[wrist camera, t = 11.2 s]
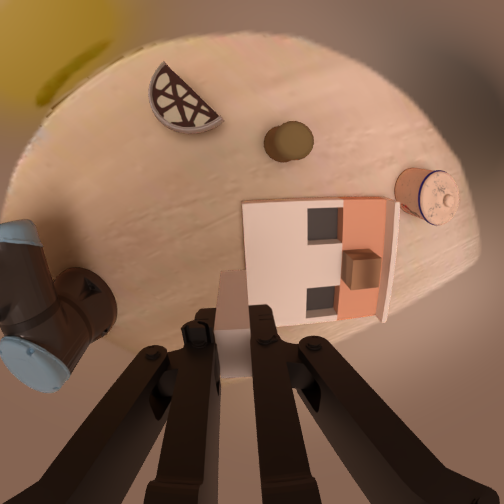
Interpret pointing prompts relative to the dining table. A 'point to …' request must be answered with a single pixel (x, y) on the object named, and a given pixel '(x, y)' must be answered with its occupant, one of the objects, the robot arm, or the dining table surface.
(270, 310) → the robot arm
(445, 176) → the teacup with lid
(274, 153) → the cork
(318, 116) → the dining table surface
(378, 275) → the walnut block
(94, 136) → the dining table surface
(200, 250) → the dining table surface
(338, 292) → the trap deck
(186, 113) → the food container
